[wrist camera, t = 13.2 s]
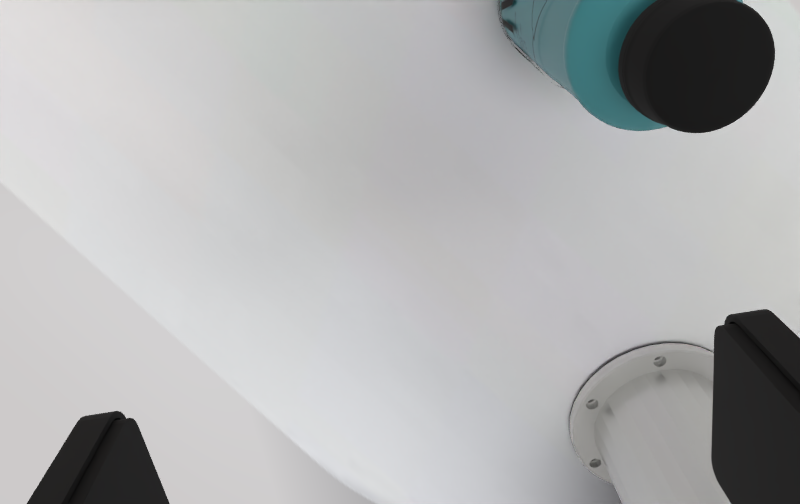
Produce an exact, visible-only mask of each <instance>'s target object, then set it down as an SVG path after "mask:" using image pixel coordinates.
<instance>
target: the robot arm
mask: <svg viewBox="0 0 800 504" xmlns="http://www.w3.org/2000/svg"><path fill="white" fill-rule="evenodd" d="M569 431H570V436H571V441H572V444H573V446H574V448H575V451H576V454H577V456H578V457H579V459H580V460H581V462H582V464H583V465H584V466H585V467H586V468H587V469H588V470H589V471H590V472H591V473H592V474H593V475H595V476H597V477H598V478H600V479H602V480H603V481H606V482H608V483H611V484H613V485H614V487H615V489H616V491H617V494H618V496H619V498H620V500H621V503H622V504H800V338H799V337H798V336H797V335H796V334H795V333H794V332H792V331H791V330H790V329H789V328H788V327H787V326H786V325H785V324H784V323H783V322H782V321H781V320H780V319H779V318H778V317H777V316H776V315H775V314H774V313H772V312H771V311H769V310H766V309H763V310H756V311H750V312H744V313H737V314H731V315H729V316H727V318H726V320H725V325H721V326H718V327H716V330H715V335H714V353H713V352H710V351H708V350H706V349H703V348H701V347H697V346H693V345H688V344H678V343H665V344H657V345H650V346H646V347H643V348H639V349H636V350H633V351H630V352H628V353H626V354H624V355H622V356H619V357H617V358H616V359H614V360H613V361H611V362H610V363H608V364H606V365H605V366H603V367H602V368H601V369H600V370H599V371H598V372H597V373H595V374H594V375H593V376H592V377H591V378H590V379H589V380H588V382H587V383H586V384H585V385H584V387H583V388H582V389H581V391H580V392H579V394H578V396H577V398H576V400H575V402H574V404H573V408H572V411H571V415H570V426H569ZM27 504H169V501H168V499H167V496H166V494H165V491H164V489H163V486H162V484H161V481H160V479H159V477H158V474H157V472H156V469H155V467H154V465H153V462H152V459H151V457H150V455H149V452H148V449H147V447H146V444H145V442H144V439H143V437H142V435H141V432H140V429H139V427H138V425H137V423H136V421H135V420H134V419H132V418H127V419H126V417H125V416H124V415H123V414H122V413H121V412H119V411H114V412H108V413H101V414H95V415H89V416H84V417H82V418H80V420H79V421H78V422H77V424H76V425H75V427H74V428H73V430H72V432H71V433H70V435H69V437H68V438H67V440H66V442H65V443H64V444H63V446H62V448H61V450H60V451H59V453H58V454H57V456H56V457H55V459H54V461H53V462H52V464H51V466H50V467H49V469H48V470H47V472H46V474H45V475H44V477H43V478H42V480H41V482H40V483H39V485H38V487H37V488H36V490H35V491H34V493H33V495H32V496H31V498H30V499H29V501H28V503H27Z"/></svg>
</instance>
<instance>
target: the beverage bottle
mask: <svg viewBox="0 0 800 504" xmlns="http://www.w3.org/2000/svg"><path fill="white" fill-rule="evenodd" d="M499 3H500V6H499V11H501V15H500V18H499V19H501V17H502V21H503V24H502V25H501V26H503V25H504V28H505V29H506V30H505V31H507V33H508V35H509V36H510V38H511V39H512V40H513V42H514V43H515V44H516V45H517V46H518V47H519V48H520V49H521V50H522V51H523V52H524V53H525V54H526V55H528V56H529V57H530V58H529V59H531V61H532V60H533V61H534V62H535V63H536V64H537V66H539V67H540V68H541V69H542V70H543V71H545V72H546V73H547V74H548V75H549V76H550V77H551V78H552V79H554V80H555V81H557V82H558V83H559V84H560V85H561V86H563V87H564V88H565V89H566V90H567V91H569V92H570V93H571V94H572V95H573V96H574V97H575V98H577V99H578V100H579V102H580V103H581V104H582V106H583V107H584V108H585V109H586V110H587V111H588V112H589V113H591V114H592V115H593V116H595V117H596V118H597V119H599V120H601V121H603V122H604V123H606V124H608V125H611V126H614V127H616V128H620V129H625V130H633V131H646V130H654V129H659V128H663V127H667V126H668V127H670V128H672V129H675V130H678V131H682V132H688V133H705V132H710V131H714V130H717V129H720V128H723V127H725V126H727V125H729V124H731V123H733V122H735V121H736V120H737V119H739V118H740V117H742V116H743V115H744V114H745V113H747V112H748V111H749V110H750V109H751V108H752V107H753V106H754V105H755V103H756V102H757V101H758V99H759V98H760V97H761V95H762V94H763V92H764V90H765V88H766V86H767V85H768V82H769V80H770V77H771V74H772V70H773V66H774V60H775V48H774V41H773V37H772V34H771V31H770V29H769V27H768V25H767V24H766V22H765V21H764V19H763V18H762V17H761V16H760V15H759V14H758V13H757V12H756V11H755V10H754V9H753V8H751V7H749V6H748V5H746V4H744V3H743V1H742V0H500V1H499ZM499 11H498V13H499ZM504 28H502V29H504ZM505 34H506V33H505ZM508 35H506V36H508ZM508 38H509V37H508ZM508 38H507V39H508ZM510 38H509V39H510ZM511 39H510V40H511ZM510 40H509V41H510ZM513 46H514V45H513ZM514 47H515V46H514ZM515 48H516V47H515ZM516 49H517V48H516ZM517 50H518V49H517ZM518 51H519V50H518ZM519 52H520V51H519ZM520 53H521V52H520ZM521 54H522V55H523V53H521ZM523 56H524V55H523ZM524 57H525V56H524ZM525 58H526V57H525ZM529 61H530V60H529ZM531 61H530V62H531ZM532 65H533V63H532ZM539 67H538V68H539ZM536 68H537V67H536ZM538 68H537V69H538ZM539 70H540V69H538V71H539ZM541 73H542V72H541ZM551 83H552V82H551ZM561 88H562V87H561Z"/></svg>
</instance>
